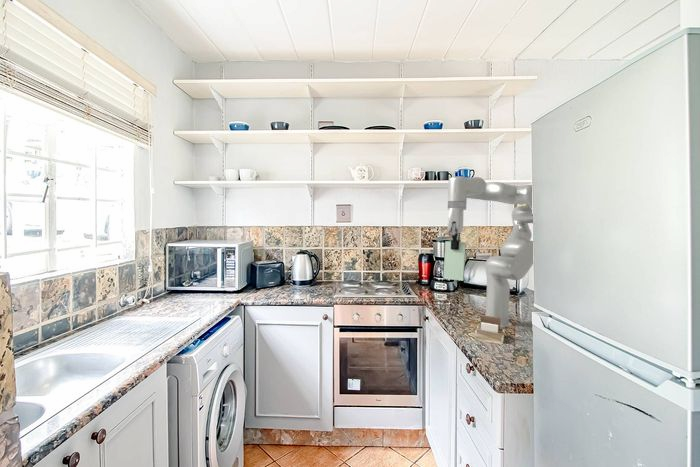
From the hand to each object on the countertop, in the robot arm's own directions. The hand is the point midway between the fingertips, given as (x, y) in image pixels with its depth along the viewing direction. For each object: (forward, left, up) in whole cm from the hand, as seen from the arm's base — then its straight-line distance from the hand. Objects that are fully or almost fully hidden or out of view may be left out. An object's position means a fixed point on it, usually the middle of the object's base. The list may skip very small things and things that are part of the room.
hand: (455, 249), depth 131 cm
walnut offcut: (+3, +15, -34) cm, 37 cm away
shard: (-14, +5, -36) cm, 39 cm away
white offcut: (+6, +15, -34) cm, 38 cm away
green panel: (0, 0, -13) cm, 13 cm away
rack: (+3, +15, -35) cm, 38 cm away
